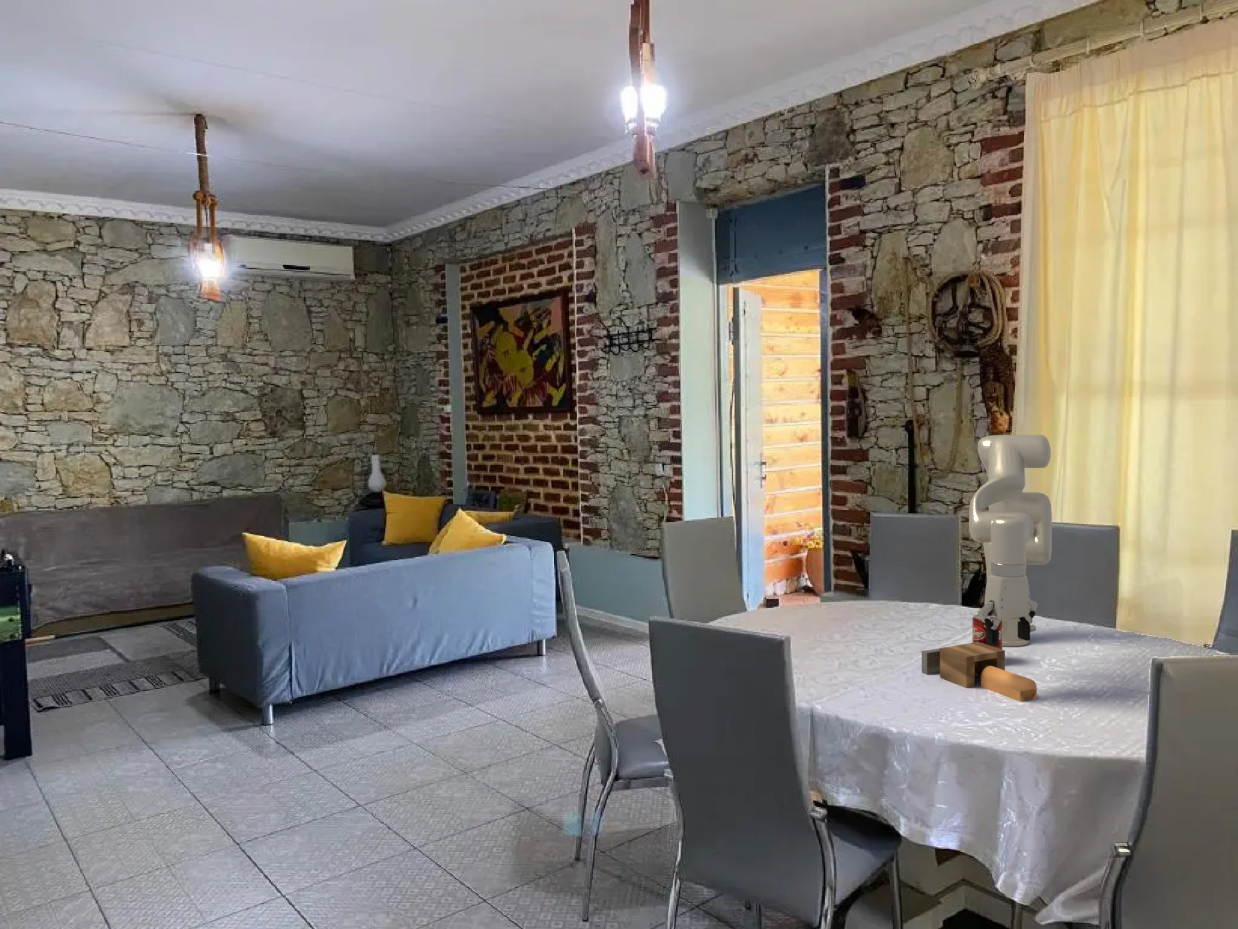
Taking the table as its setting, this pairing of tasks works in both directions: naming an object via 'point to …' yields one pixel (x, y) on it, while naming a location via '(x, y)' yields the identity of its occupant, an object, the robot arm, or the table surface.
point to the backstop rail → (931, 661)
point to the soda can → (983, 631)
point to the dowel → (1008, 684)
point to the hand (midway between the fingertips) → (1008, 642)
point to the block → (968, 662)
